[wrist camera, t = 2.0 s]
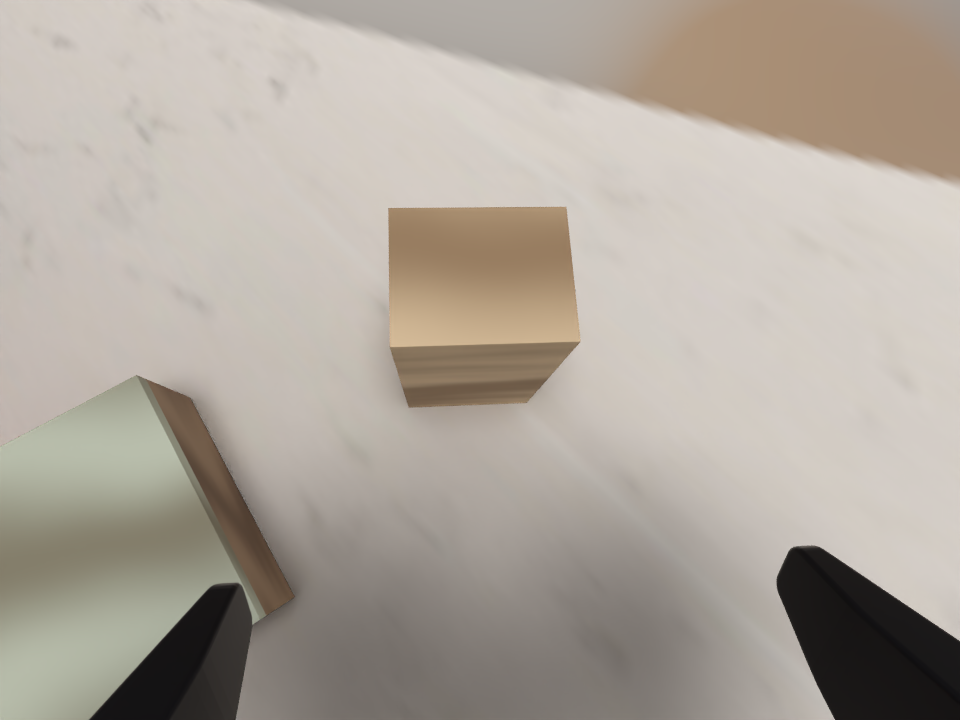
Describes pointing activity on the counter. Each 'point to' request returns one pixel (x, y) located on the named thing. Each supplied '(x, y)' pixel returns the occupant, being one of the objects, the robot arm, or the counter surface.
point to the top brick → (479, 302)
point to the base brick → (114, 546)
